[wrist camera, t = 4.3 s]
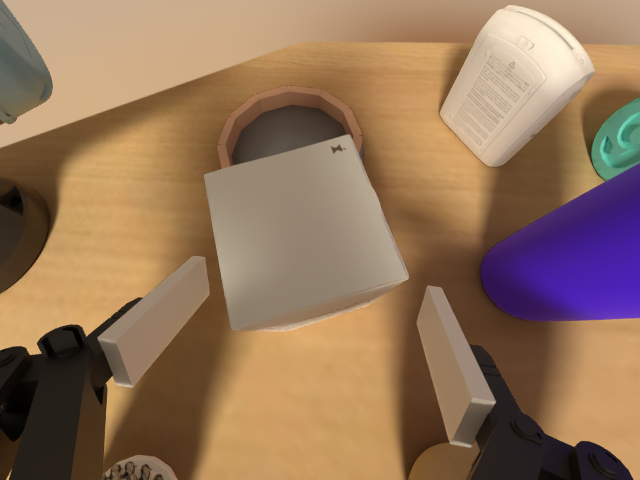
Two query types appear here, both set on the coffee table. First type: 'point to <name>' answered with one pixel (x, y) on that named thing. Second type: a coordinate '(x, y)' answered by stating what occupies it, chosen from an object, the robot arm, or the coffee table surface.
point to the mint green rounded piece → (618, 142)
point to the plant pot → (444, 462)
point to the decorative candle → (140, 469)
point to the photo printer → (514, 83)
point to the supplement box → (300, 237)
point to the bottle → (573, 259)
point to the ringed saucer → (284, 124)
